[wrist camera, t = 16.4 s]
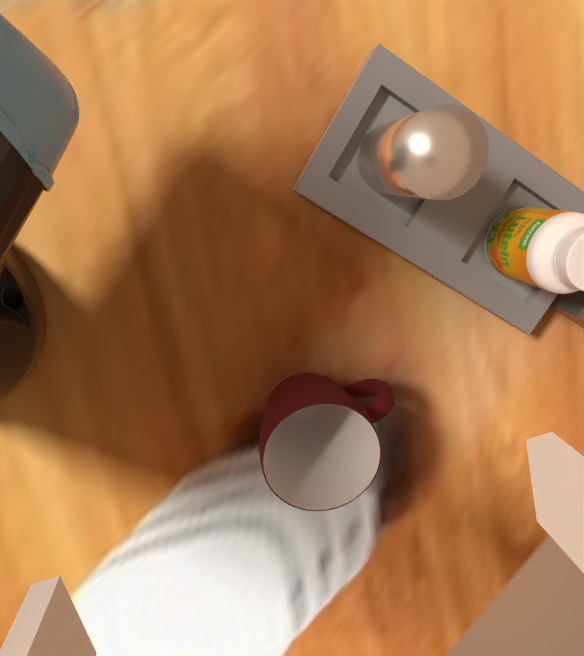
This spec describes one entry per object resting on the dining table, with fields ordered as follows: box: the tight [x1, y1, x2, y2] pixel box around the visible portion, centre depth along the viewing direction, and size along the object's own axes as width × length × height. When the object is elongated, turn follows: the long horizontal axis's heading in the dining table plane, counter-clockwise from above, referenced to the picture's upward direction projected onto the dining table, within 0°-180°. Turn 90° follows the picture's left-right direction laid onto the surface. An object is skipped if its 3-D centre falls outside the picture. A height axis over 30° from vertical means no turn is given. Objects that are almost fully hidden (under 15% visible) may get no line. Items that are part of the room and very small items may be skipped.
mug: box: [259, 373, 394, 511], centre depth 40 cm, size 10×8×10 cm
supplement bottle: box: [484, 207, 584, 294], centre depth 37 cm, size 5×5×10 cm
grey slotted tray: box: [291, 44, 584, 335], centre depth 40 cm, size 22×11×2 cm, turn 59°
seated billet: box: [357, 104, 489, 200], centre depth 34 cm, size 5×5×10 cm
